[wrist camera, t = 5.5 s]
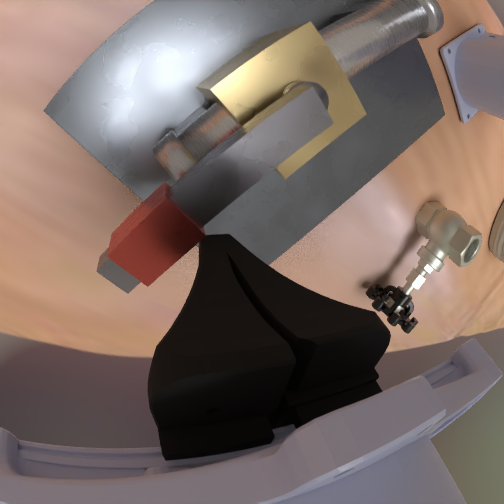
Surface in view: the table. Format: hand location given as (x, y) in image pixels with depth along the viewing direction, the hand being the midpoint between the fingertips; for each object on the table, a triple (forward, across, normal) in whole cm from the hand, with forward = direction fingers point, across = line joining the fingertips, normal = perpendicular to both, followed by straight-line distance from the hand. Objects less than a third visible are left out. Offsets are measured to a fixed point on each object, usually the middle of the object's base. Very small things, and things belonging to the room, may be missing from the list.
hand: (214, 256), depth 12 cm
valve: (+8, -21, +6) cm, 23 cm away
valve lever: (+1, 0, -3) cm, 3 cm away
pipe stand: (+8, -5, -7) cm, 12 cm away
